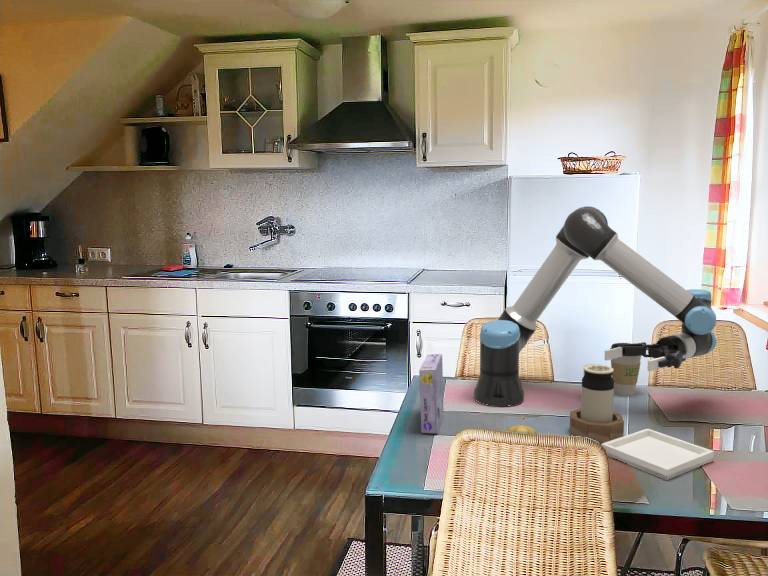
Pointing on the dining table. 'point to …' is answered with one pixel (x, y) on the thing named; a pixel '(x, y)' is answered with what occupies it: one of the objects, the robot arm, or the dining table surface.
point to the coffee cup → (625, 373)
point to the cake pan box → (431, 393)
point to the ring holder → (596, 427)
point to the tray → (658, 453)
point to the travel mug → (597, 394)
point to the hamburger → (522, 428)
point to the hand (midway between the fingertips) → (626, 360)
